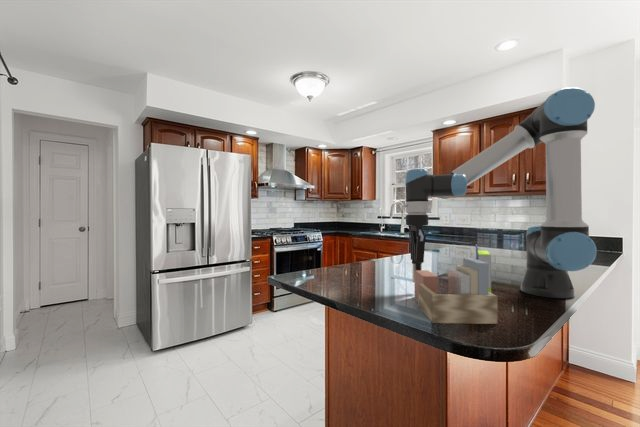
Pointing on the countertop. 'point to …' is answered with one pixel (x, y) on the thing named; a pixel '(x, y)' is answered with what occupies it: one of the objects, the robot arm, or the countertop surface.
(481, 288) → the shelved books
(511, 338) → the countertop surface
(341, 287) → the countertop surface
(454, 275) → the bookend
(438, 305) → the wooden crate
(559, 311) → the countertop surface
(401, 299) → the countertop surface
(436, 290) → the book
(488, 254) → the box
